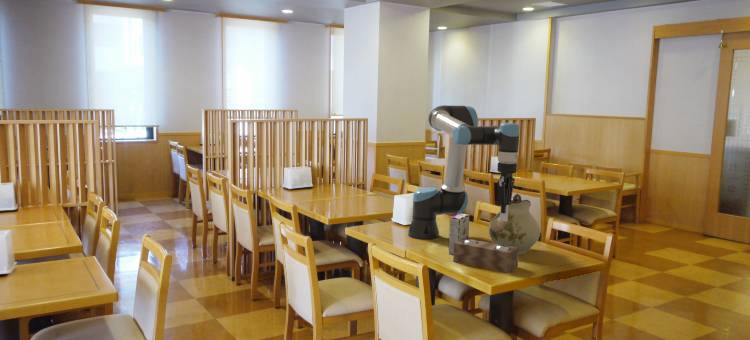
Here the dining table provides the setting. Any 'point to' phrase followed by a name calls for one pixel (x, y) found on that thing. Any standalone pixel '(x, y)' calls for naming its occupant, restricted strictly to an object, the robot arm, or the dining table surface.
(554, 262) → the dining table surface
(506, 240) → the pitcher
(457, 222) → the candy bar box
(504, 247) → the peg
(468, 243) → the peg
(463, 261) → the walnut bar
